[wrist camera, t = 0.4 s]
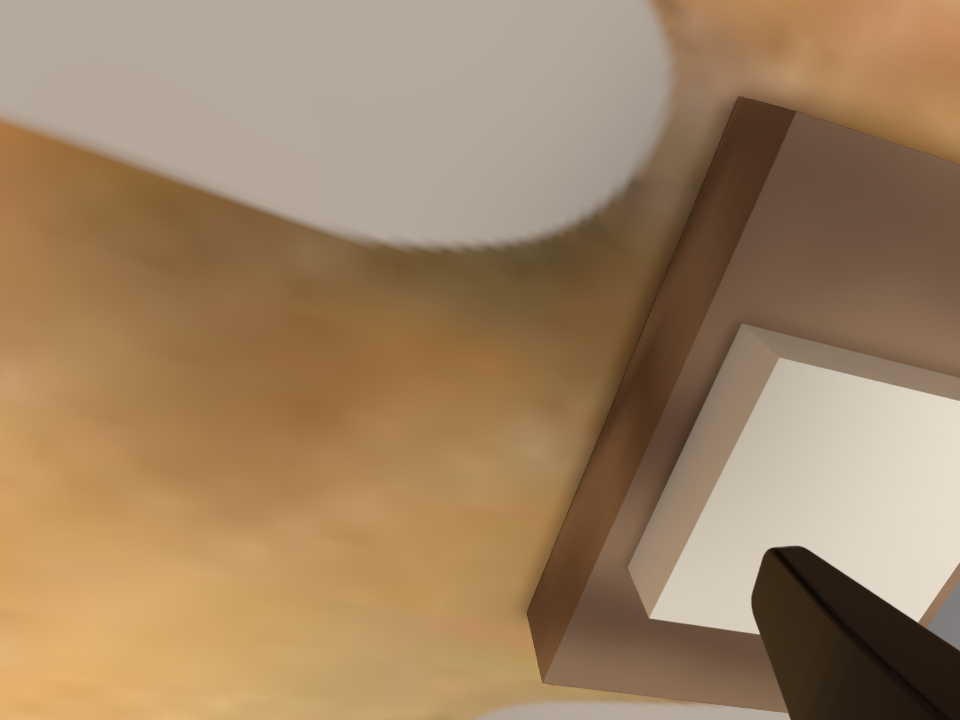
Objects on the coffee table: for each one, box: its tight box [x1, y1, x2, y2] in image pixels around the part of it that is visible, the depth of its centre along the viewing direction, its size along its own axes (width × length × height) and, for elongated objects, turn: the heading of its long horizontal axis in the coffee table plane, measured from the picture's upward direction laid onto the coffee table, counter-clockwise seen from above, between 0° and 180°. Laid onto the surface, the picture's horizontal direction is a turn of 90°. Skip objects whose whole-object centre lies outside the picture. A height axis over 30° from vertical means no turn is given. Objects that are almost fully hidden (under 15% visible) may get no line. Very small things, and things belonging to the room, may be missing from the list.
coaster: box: [628, 324, 960, 634], centre depth 20 cm, size 8×8×2 cm
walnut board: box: [527, 96, 960, 713], centre depth 22 cm, size 18×12×3 cm, turn 164°
